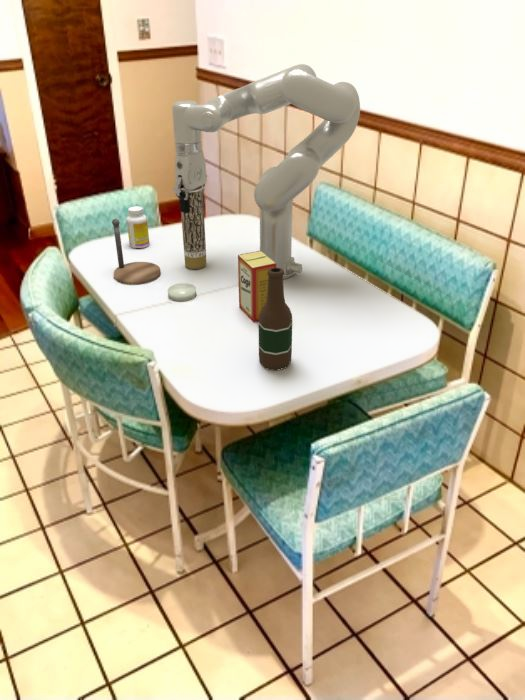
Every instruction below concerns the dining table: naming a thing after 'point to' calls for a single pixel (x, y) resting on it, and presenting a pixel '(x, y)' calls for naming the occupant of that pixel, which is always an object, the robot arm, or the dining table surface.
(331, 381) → the dining table surface
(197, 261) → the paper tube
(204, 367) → the dining table surface
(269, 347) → the beer bottle
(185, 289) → the sage dish
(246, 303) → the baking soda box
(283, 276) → the robot arm
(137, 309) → the dining table surface
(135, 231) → the supplement bottle
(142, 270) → the holder base
